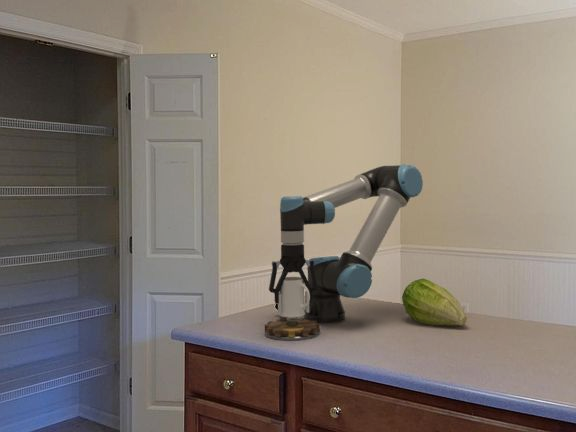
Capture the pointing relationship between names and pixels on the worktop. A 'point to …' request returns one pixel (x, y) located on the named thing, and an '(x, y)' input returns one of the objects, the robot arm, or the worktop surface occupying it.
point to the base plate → (296, 338)
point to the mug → (293, 297)
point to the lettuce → (432, 304)
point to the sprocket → (292, 327)
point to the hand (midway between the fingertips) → (293, 312)
